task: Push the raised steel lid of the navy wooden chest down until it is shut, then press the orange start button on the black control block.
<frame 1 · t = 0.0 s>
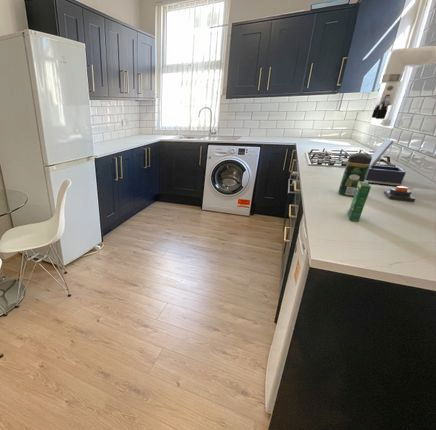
hand: (377, 118, 136), 32 cm above the countertop, tool pointing down, fingers open, 9 cm apart
chest: (379, 182, 145), on the countertop
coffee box: (352, 218, 103), on the countertop
coffee jar: (348, 194, 128), on the countertop
control block: (398, 197, 123), on the countertop
lid: (378, 152, 142), point 15 cm above the countertop, hinge at 70.0°
start button: (401, 189, 122), point 4 cm above the countertop, slide at 0.2 cm
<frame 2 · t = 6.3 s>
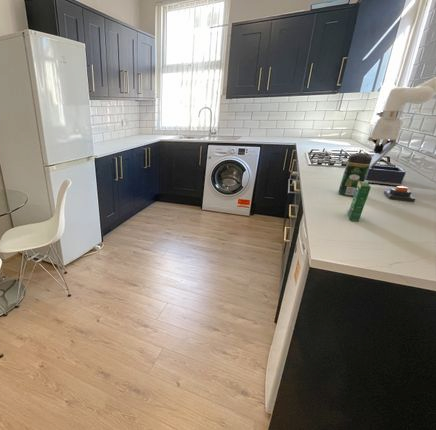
hand: (377, 153, 142), 15 cm above the countertop, tool pointing down, fingers closed
lid: (380, 153, 142), point 15 cm above the countertop, hinge at 63.1°, touching gripper
everything else where it was.
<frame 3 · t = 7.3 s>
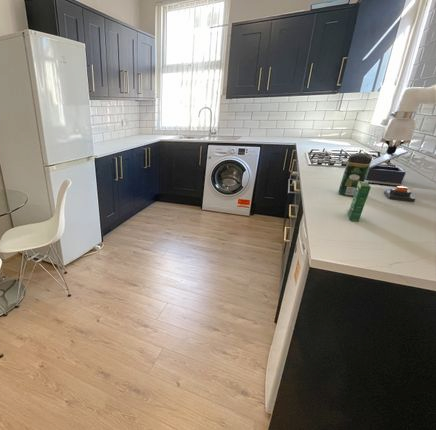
hand: (389, 154, 140), 15 cm above the countertop, tool pointing down, fingers closed
lid: (385, 158, 141), point 13 cm above the countertop, hinge at 37.9°, touching gripper
everything else where it was.
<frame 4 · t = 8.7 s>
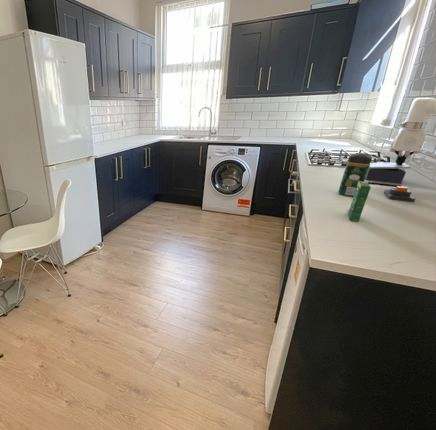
hand: (398, 164, 139), 10 cm above the countertop, tool pointing down, fingers closed
lid: (386, 165, 142), point 9 cm above the countertop, hinge at 6.8°, touching gripper
everything else where it was.
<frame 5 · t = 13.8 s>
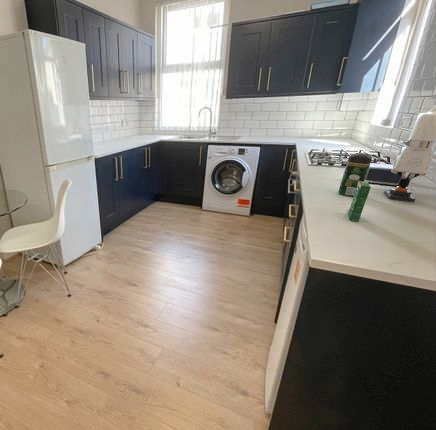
hand: (401, 187, 122), 5 cm above the countertop, tool pointing down, fingers closed
lid: (386, 166, 142), point 8 cm above the countertop, hinge at 0.9°
start button: (401, 189, 122), point 4 cm above the countertop, slide at 0.0 cm, touching gripper
everything else where it was.
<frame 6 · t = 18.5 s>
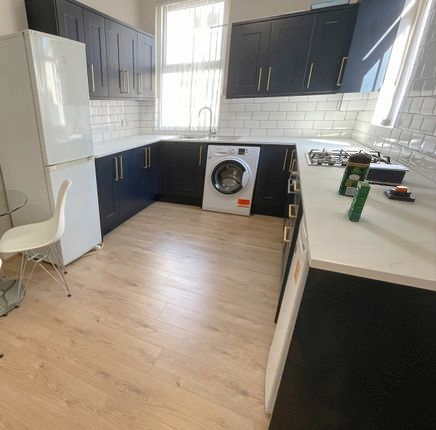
start button: (401, 189, 122), point 4 cm above the countertop, slide at 0.1 cm
everything else where it was.
at the end: lid at +1° (first picture: +70°); start button pushed in 1.1 cm at the most during the clip, back to where it started at the end; start button slide at 0.1 cm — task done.
